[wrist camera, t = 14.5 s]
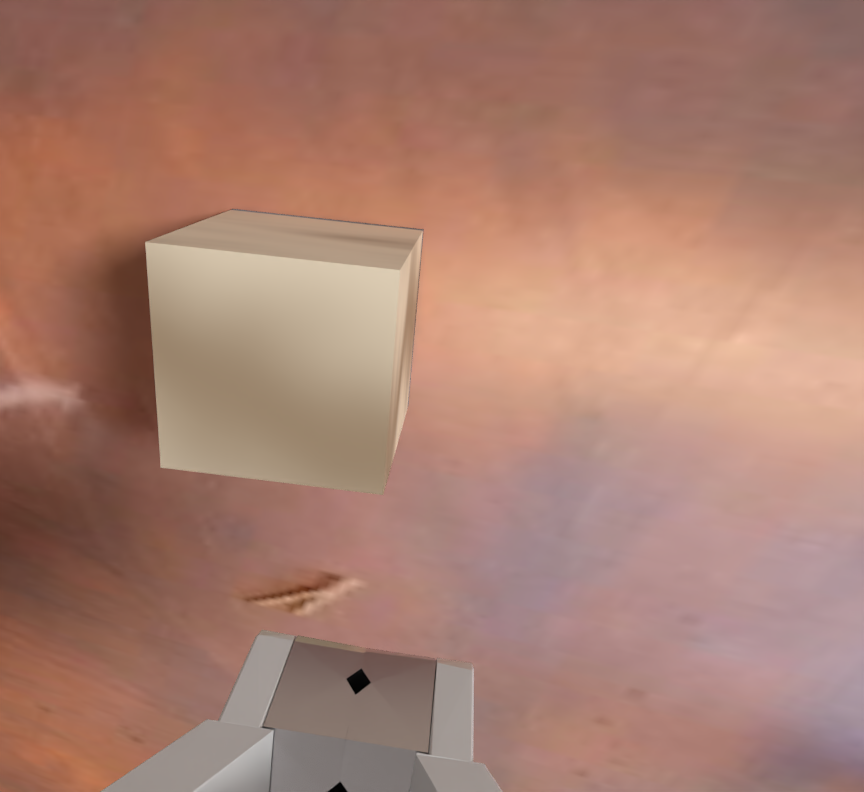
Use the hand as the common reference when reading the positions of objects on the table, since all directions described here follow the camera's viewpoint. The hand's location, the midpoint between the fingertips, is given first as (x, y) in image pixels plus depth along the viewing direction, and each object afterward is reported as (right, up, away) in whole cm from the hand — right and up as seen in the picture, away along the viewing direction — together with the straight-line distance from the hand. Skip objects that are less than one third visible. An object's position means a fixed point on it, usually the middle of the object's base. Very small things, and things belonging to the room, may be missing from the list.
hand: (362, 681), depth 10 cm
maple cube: (-3, +4, +7) cm, 9 cm away
